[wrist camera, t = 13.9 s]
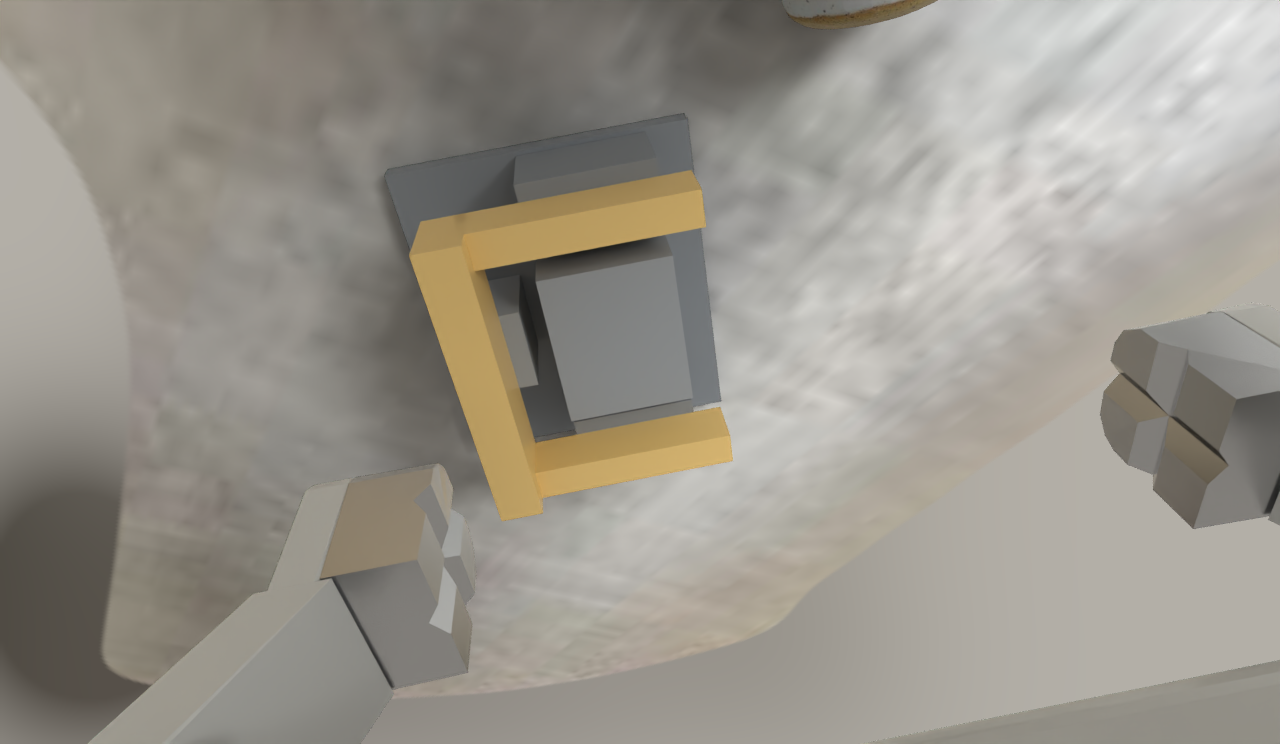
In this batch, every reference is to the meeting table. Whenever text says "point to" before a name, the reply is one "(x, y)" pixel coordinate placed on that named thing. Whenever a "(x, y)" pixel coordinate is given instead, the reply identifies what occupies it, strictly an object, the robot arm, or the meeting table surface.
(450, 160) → the grey block fixture base
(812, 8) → the ceramic mug
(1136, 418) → the robot arm
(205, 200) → the meeting table surface
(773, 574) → the meeting table surface
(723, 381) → the meeting table surface
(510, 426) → the yellow c-shaped bracket
